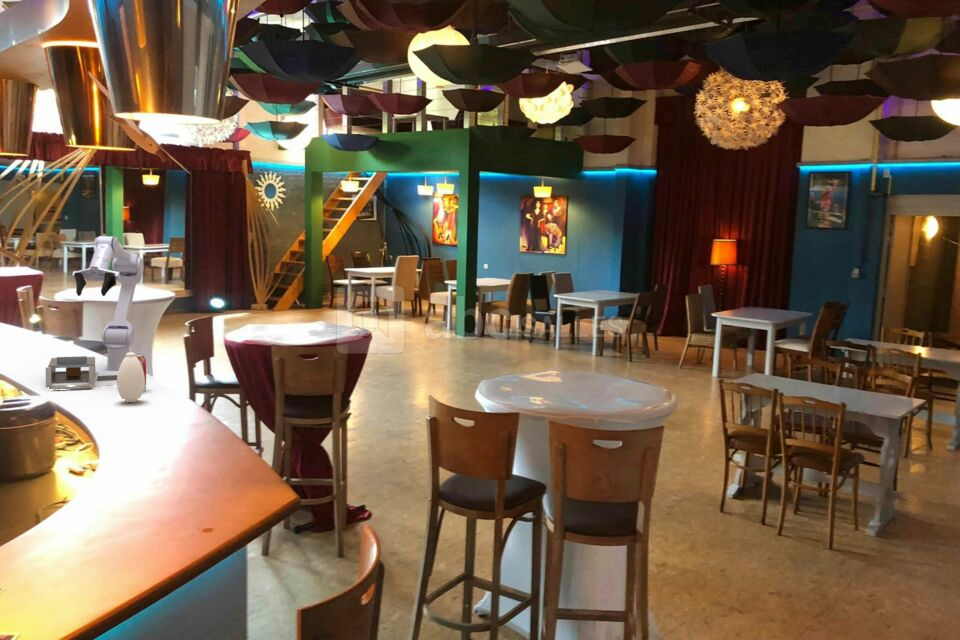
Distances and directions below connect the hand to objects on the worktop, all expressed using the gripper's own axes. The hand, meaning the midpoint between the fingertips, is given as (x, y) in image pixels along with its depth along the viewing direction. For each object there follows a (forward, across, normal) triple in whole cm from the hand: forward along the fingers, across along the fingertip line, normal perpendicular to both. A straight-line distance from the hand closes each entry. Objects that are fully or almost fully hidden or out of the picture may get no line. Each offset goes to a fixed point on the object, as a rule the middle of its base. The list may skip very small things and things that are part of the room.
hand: (90, 293), depth 255 cm
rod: (+25, -6, +18) cm, 32 cm away
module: (+9, -13, +33) cm, 36 cm away
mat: (+13, +2, +30) cm, 33 cm away
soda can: (+26, +14, +19) cm, 35 cm away
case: (+15, -10, +28) cm, 34 cm away
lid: (+10, -11, +25) cm, 29 cm away
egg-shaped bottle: (+37, +18, +8) cm, 42 cm away
